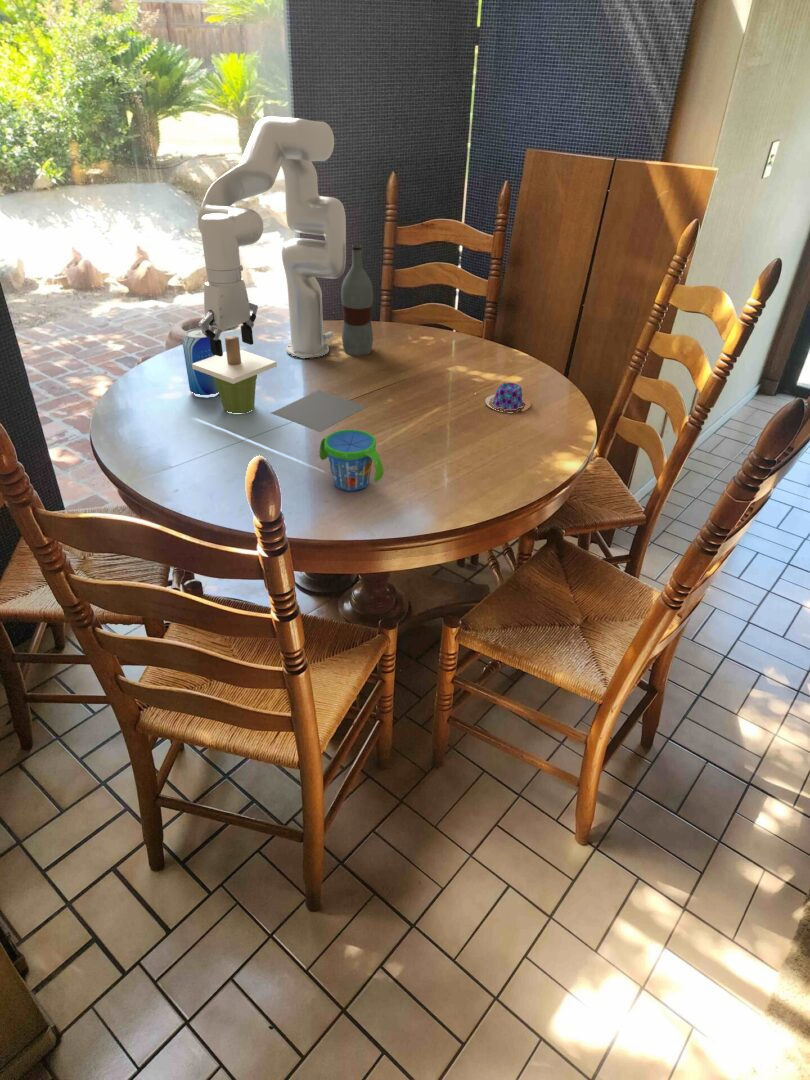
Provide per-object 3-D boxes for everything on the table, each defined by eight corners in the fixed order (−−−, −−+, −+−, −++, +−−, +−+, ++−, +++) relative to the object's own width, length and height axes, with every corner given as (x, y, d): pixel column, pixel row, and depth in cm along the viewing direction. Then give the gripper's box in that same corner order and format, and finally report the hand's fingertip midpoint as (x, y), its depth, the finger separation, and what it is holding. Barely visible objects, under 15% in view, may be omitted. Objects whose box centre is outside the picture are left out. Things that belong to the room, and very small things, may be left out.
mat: (319, 392, 186) (319, 390, 186) (366, 408, 179) (366, 406, 178) (271, 415, 174) (270, 412, 173) (320, 433, 167) (319, 431, 166)
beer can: (205, 402, 178) (196, 341, 169) (183, 393, 182) (173, 332, 173) (230, 392, 184) (223, 332, 175) (209, 383, 188) (201, 324, 179)
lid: (236, 352, 177) (233, 324, 173) (276, 366, 170) (274, 337, 166) (192, 368, 167) (188, 339, 163) (233, 383, 161) (229, 353, 157)
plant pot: (271, 404, 179) (267, 361, 172) (250, 424, 170) (245, 379, 163) (228, 397, 181) (223, 355, 175) (206, 416, 172) (199, 373, 165)
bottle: (378, 349, 212) (380, 245, 195) (361, 359, 206) (361, 251, 189) (353, 343, 216) (352, 240, 199) (335, 351, 210) (333, 246, 192)
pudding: (480, 411, 181) (482, 391, 178) (490, 393, 190) (492, 374, 187) (527, 418, 178) (529, 399, 175) (534, 399, 187) (536, 381, 184)
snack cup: (307, 478, 150) (305, 435, 144) (344, 461, 156) (343, 420, 150) (358, 507, 141) (358, 463, 135) (394, 488, 148) (395, 445, 142)
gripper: (240, 263, 164) (248, 335, 174) (182, 280, 152) (193, 355, 162) (264, 269, 160) (270, 342, 171) (205, 286, 149) (216, 363, 159)
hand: (232, 349), depth 167 cm, fingers open, 9 cm apart
